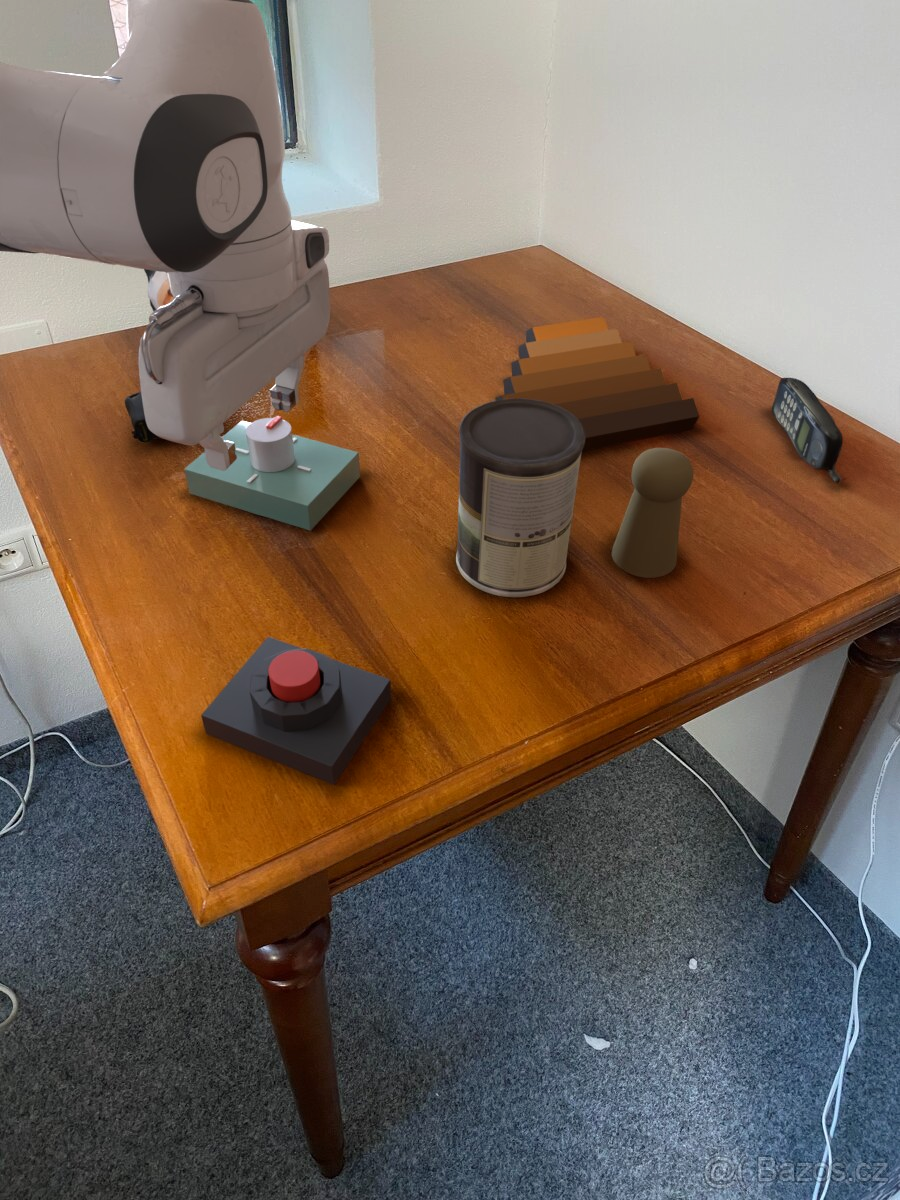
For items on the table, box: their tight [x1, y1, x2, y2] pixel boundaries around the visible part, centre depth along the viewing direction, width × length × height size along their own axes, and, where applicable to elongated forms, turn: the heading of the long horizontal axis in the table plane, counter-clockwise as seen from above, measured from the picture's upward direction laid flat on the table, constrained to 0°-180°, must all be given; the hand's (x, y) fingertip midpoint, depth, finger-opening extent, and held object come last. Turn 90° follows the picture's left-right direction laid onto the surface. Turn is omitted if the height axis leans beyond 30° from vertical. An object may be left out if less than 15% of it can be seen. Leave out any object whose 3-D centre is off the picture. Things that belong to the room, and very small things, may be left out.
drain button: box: [268, 651, 320, 702], centre depth 64 cm, size 4×4×2 cm
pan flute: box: [494, 316, 700, 452], centre depth 102 cm, size 25×3×25 cm
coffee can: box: [455, 398, 585, 598], centre depth 76 cm, size 10×10×14 cm
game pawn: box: [610, 447, 694, 579], centre depth 78 cm, size 6×6×11 cm
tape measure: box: [124, 391, 162, 444], centre depth 95 cm, size 7×7×4 cm
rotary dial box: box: [183, 420, 361, 532], centre depth 88 cm, size 14×10×3 cm
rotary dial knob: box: [245, 415, 295, 472], centre depth 86 cm, size 4×4×4 cm
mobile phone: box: [771, 377, 844, 484], centre depth 95 cm, size 5×3×15 cm
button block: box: [200, 636, 392, 786], centre depth 66 cm, size 11×9×4 cm
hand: (255, 434), depth 70 cm, fingers open, 8 cm apart
